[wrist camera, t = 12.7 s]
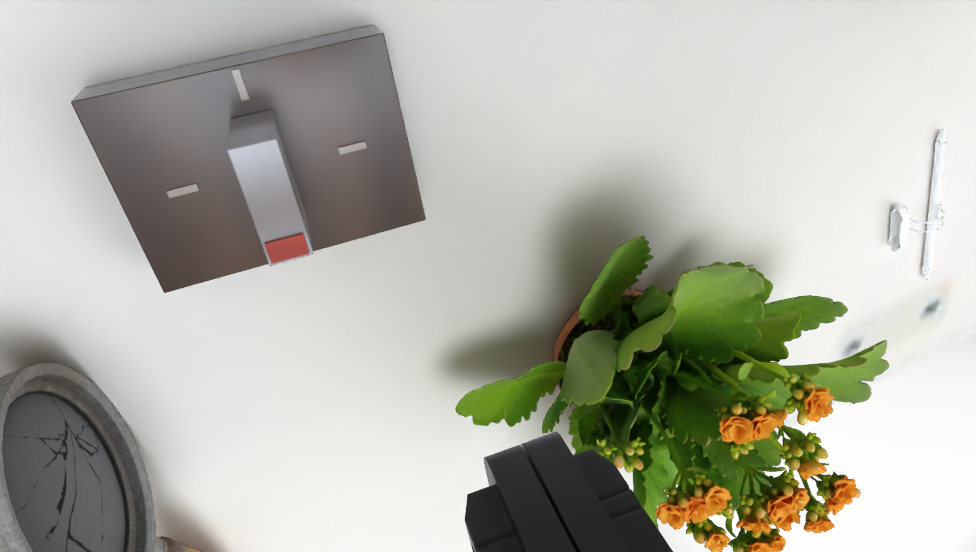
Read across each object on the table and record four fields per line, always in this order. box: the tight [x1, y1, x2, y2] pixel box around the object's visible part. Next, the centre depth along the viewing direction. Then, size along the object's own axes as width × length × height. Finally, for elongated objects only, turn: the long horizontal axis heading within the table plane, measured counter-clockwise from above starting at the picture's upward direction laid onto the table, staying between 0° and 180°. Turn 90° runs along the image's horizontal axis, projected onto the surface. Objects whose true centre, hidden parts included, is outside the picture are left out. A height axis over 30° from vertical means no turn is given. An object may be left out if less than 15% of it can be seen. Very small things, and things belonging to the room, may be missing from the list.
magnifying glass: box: [0, 362, 200, 552], centre depth 37 cm, size 13×3×25 cm
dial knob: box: [227, 110, 313, 266], centre depth 30 cm, size 6×2×5 cm, turn 8°
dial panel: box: [71, 25, 426, 293], centre depth 33 cm, size 14×10×3 cm
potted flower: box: [456, 236, 889, 552], centre depth 41 cm, size 25×24×18 cm
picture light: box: [888, 129, 947, 280], centre depth 52 cm, size 14×4×2 cm, turn 16°
